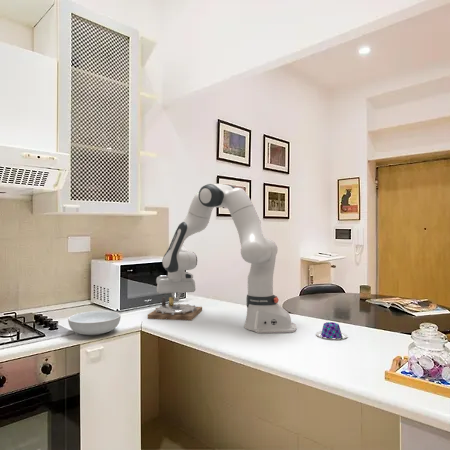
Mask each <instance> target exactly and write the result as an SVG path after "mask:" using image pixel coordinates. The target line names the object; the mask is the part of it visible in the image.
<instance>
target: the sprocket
mask: <svg viewBox="0 0 450 450" xmlns="http://www.w3.org/2000/svg"><path fill="white" fill-rule="evenodd" d="M174 303H175V301H174V298H173V296H170V297H168V304H166V305H165V306H162V305H159V307H158V306H157V307H155V310H156V312H157V313H158V312H160V313H162V314H172V315H174V314H185V313H189V312H194V310H197V307H198V306H196V305H191V304H190V303H187V304H184V303H183V304H181V303H175V304H174Z"/></svg>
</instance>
